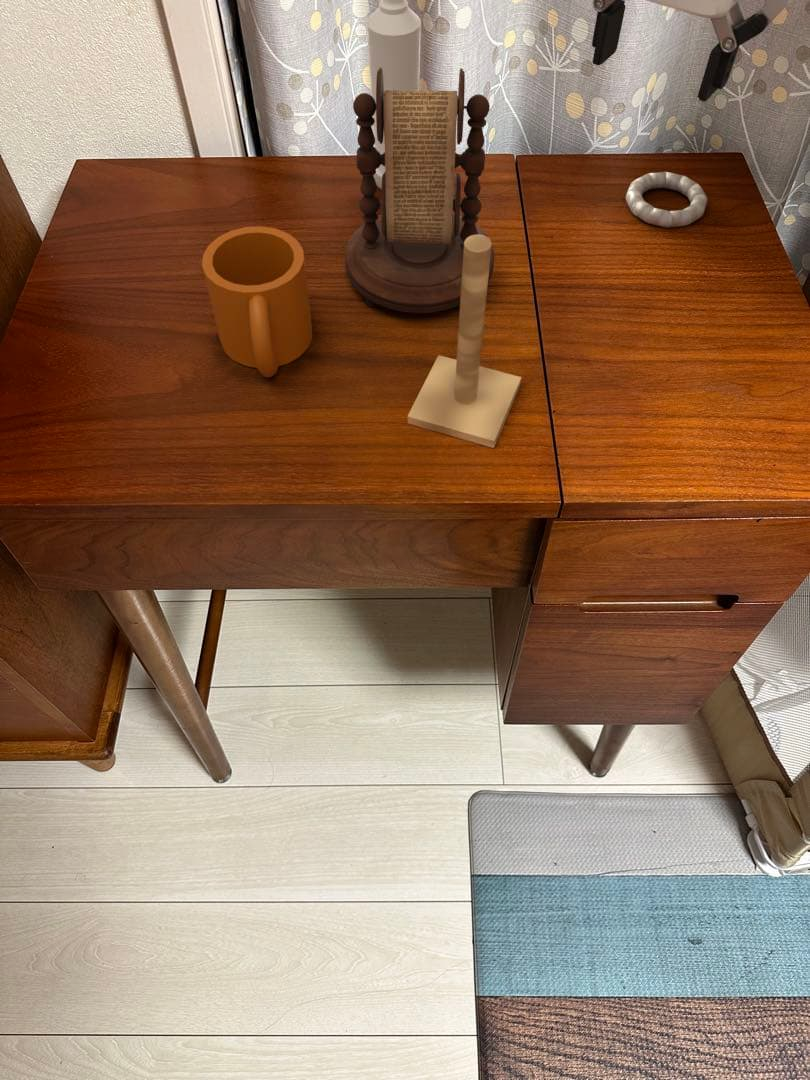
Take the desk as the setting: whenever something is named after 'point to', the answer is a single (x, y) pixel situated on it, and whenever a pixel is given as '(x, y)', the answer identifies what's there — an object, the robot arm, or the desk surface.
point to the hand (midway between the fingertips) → (655, 75)
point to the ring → (664, 216)
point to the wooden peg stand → (467, 367)
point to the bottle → (393, 54)
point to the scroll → (416, 197)
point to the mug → (259, 296)
